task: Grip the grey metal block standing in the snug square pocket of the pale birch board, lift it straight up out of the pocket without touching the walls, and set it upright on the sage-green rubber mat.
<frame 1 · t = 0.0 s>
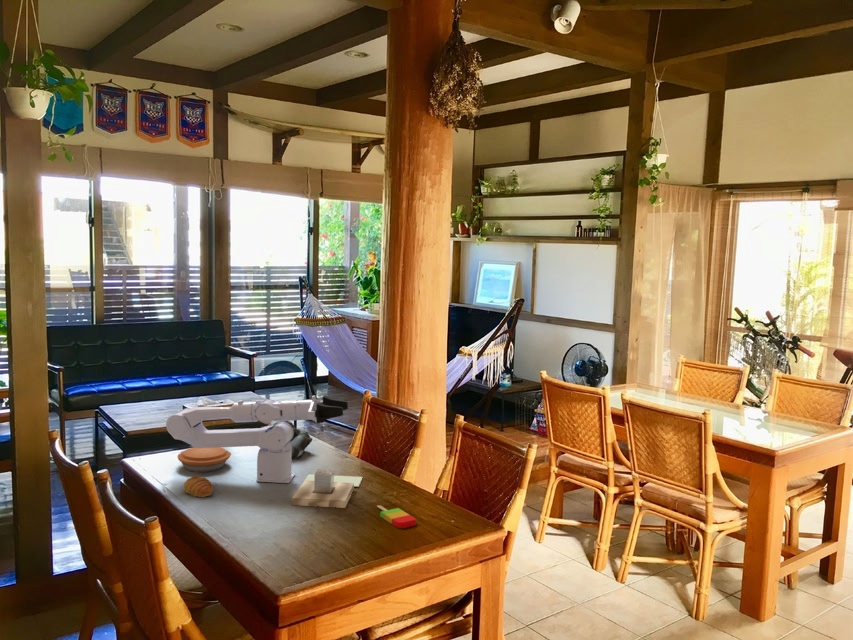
hand: (345, 408, 203), 22 cm above the table, tool horizontal, fingers open, 7 cm apart
popsicle: (392, 519, 181), on the table
block: (324, 484, 192), in the pocket board
mat: (333, 481, 206), on the table
pastry: (199, 493, 194), on the table
pocket board: (323, 497, 193), on the table
pie: (204, 467, 216), on the table
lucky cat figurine: (286, 455, 231), on the table
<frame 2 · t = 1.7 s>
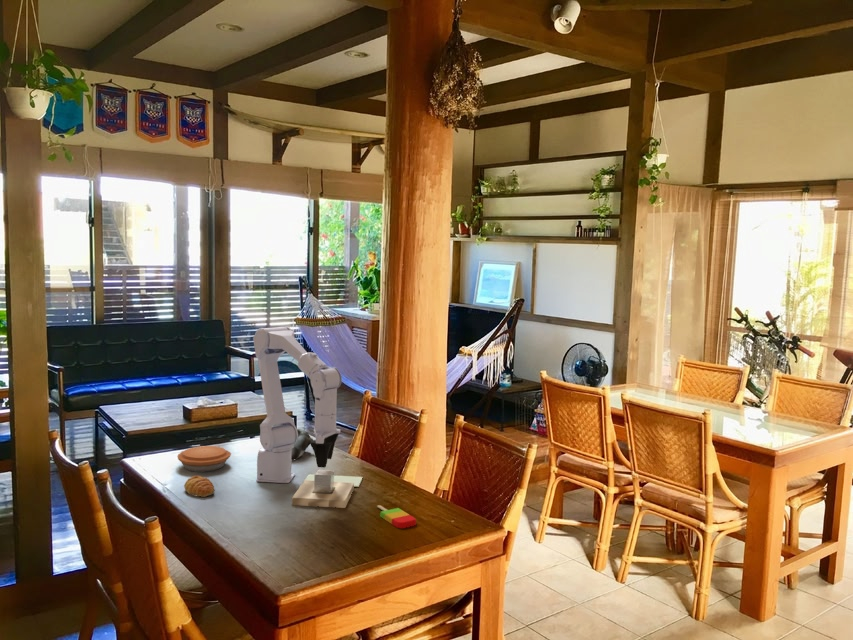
hand: (324, 462, 192), 10 cm above the table, tool pointing down, fingers open, 7 cm apart
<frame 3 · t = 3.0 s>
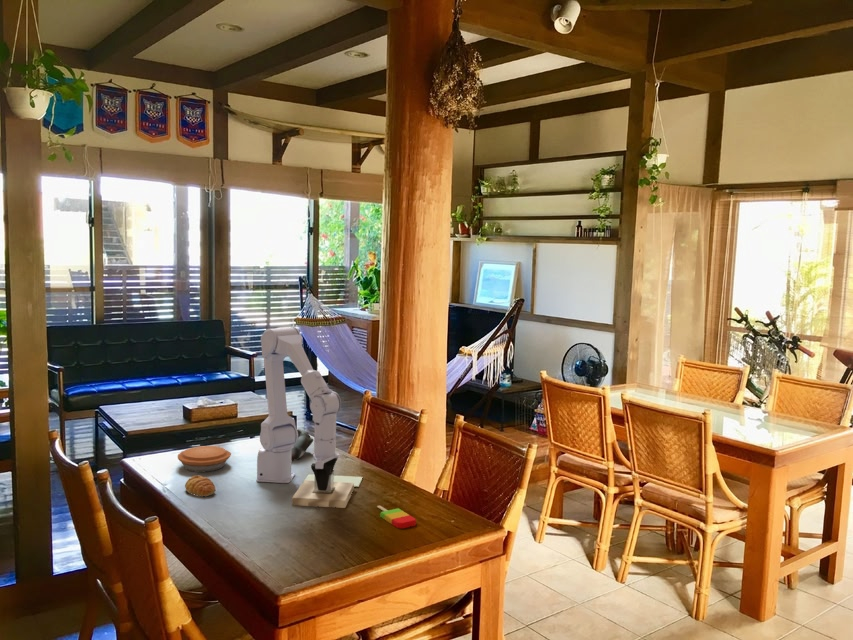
hand: (324, 486, 193), 3 cm above the table, tool pointing down, fingers closed on block, 4 cm apart
block: (324, 484, 192), in the pocket board, touching gripper
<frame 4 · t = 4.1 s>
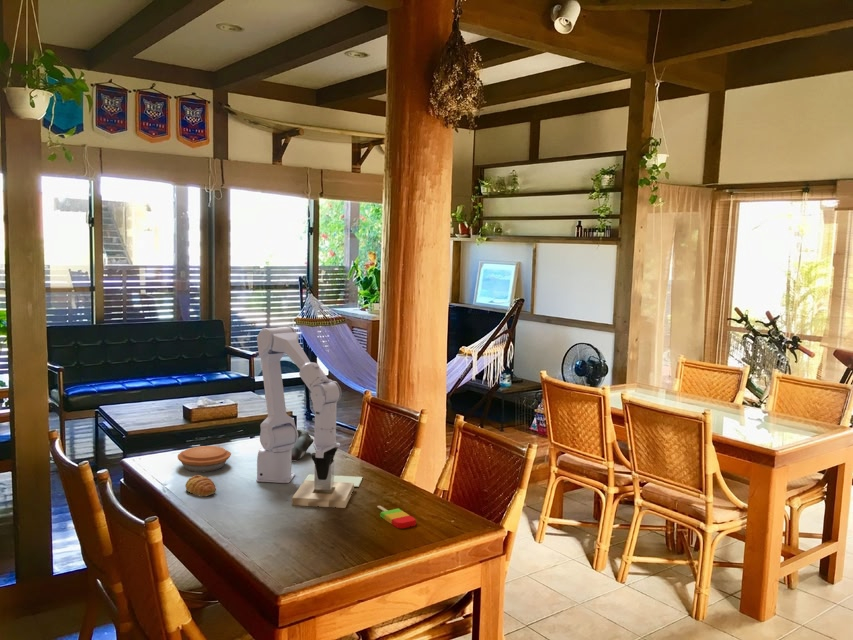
hand: (324, 476, 192), 6 cm above the table, tool pointing down, fingers closed on block, 4 cm apart
block: (324, 474, 192), point 6 cm above the table, touching gripper
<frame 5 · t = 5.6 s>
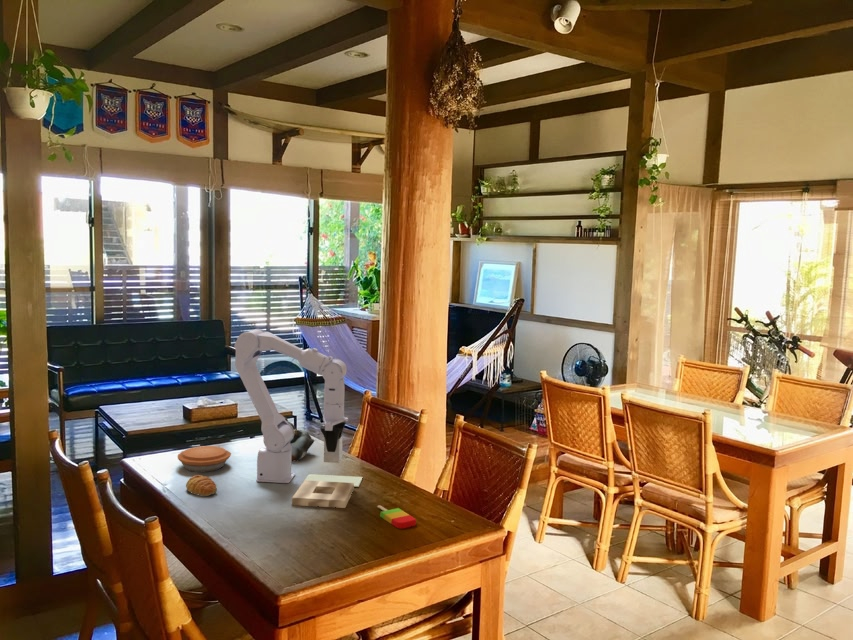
hand: (333, 449, 204), 10 cm above the table, tool pointing down, fingers closed on block, 4 cm apart
block: (333, 448, 204), point 10 cm above the table, touching gripper
when the fingers open (5 cm above the table, at t = 7.1 s): block drops 1 cm, resting on mat.
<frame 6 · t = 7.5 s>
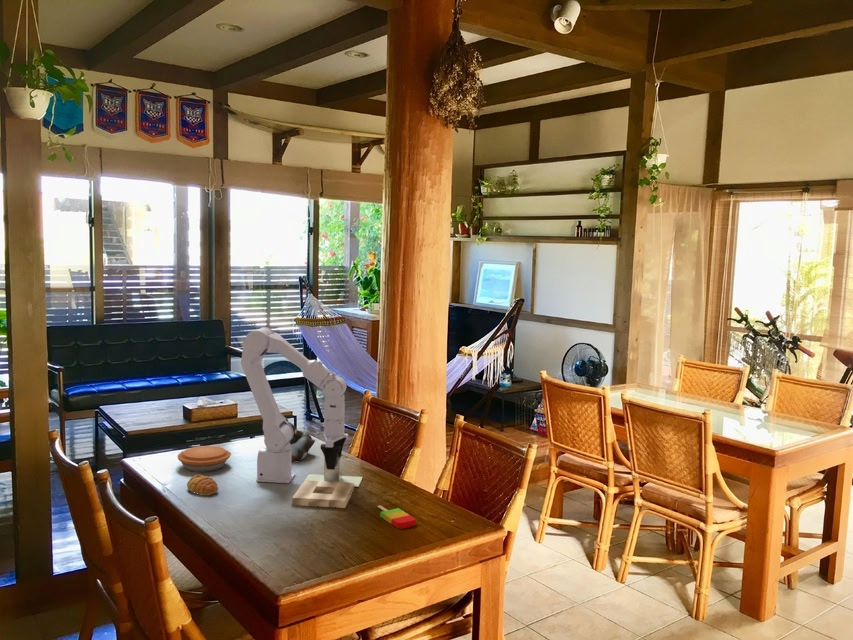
hand: (333, 465, 205), 5 cm above the table, tool pointing down, fingers open, 7 cm apart
block: (333, 468, 205), on the mat
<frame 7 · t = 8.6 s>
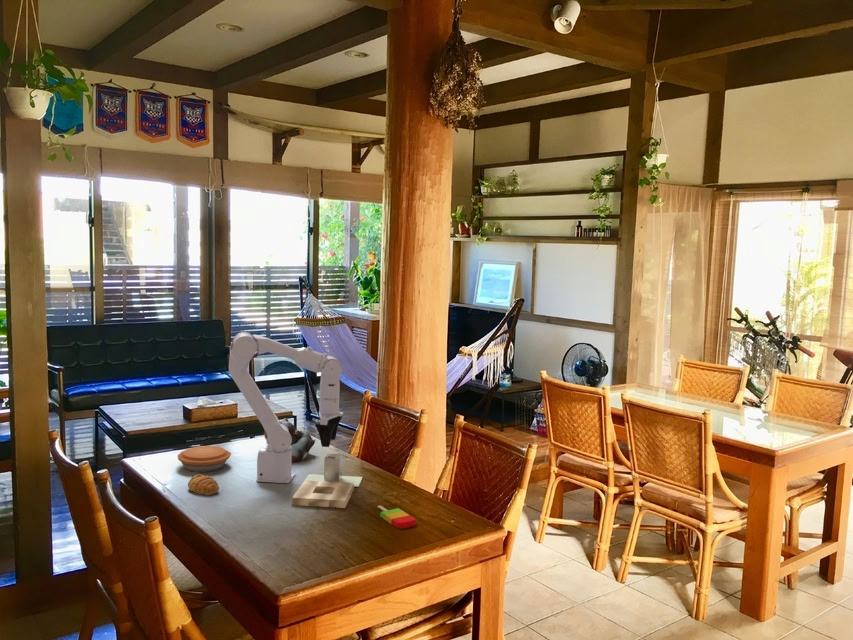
hand: (328, 443, 210), 10 cm above the table, tool pointing down, fingers open, 7 cm apart
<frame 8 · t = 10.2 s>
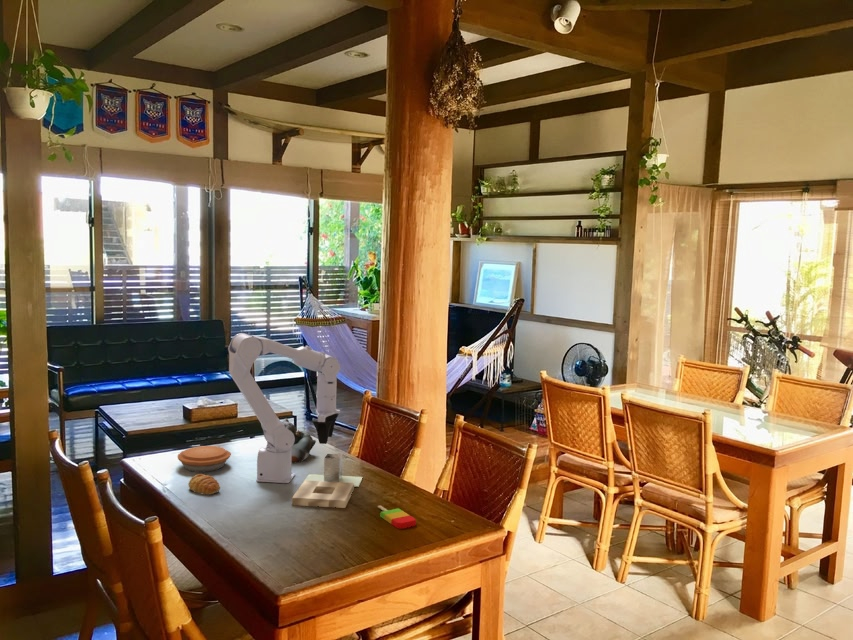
hand: (325, 440, 213), 10 cm above the table, tool pointing down, fingers open, 7 cm apart
at the end: block 0.0 cm off-centre on the mat, point 4.0 cm above the mat's base; block tilted 0°; the gripper is holding nothing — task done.
